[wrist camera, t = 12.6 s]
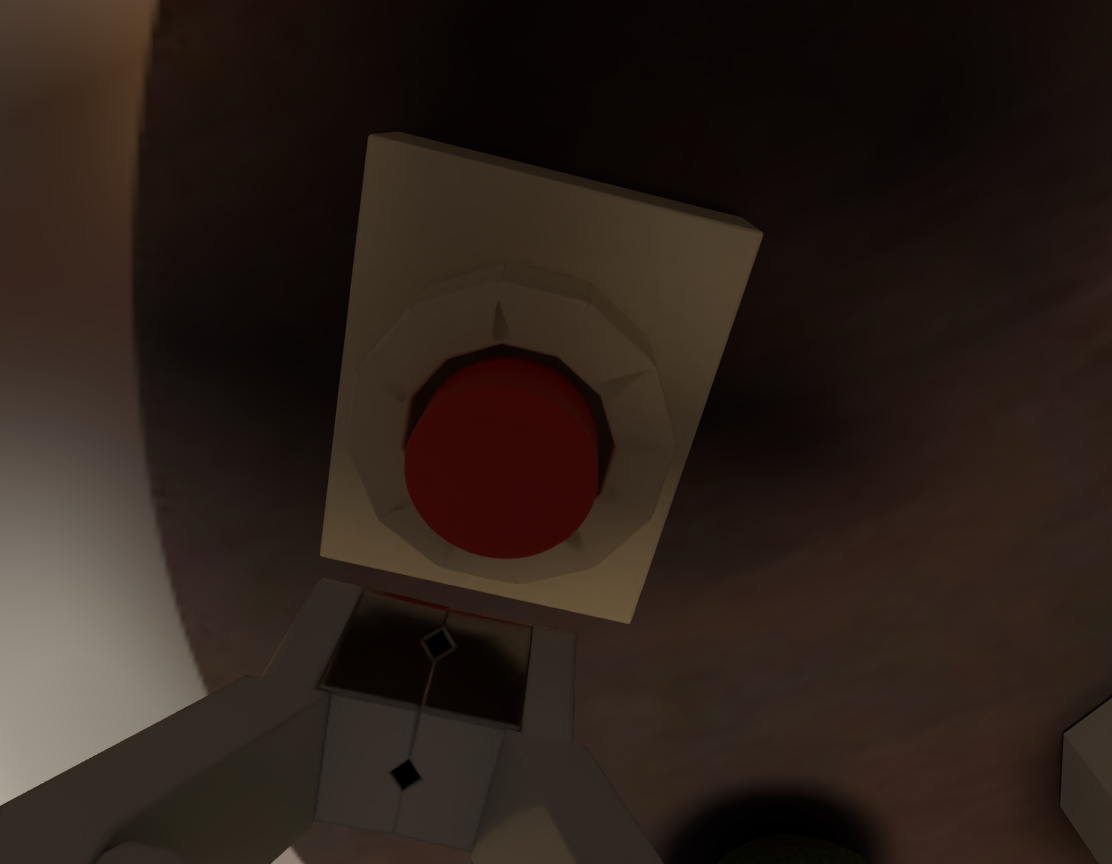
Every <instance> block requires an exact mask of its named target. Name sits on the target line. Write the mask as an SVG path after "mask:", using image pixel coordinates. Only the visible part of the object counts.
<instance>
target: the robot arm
mask: <svg viewBox="0 0 1112 864" xmlns="http://www.w3.org/2000/svg"><path fill="white" fill-rule="evenodd" d="M576 641H577V638H576V636H575V634H574V632H570V631H565V630H560V629H555V628H550V627H544V626H539V625H534V624H533V625H532V626H531V625H529V624H524V623H519V622H514V621H510V620H505V619H500V618H496V617H491V616H486V615H481V614H477V613H472V612H467V611H463V610H458V609H453V608H450V607H446V606H442V605H437V604H433V603H429V602H425V601H421V600H417V599H413V598H409V597H404V596H400V595H396V594H392V593H388V592H384V591H380V590H376V589H371V588H366V589H365V588H363V587H361V586H356V585H352V584H348V583H344V582H339V581H335V580H331V579H327V578H322V579H321V580H320V581H319V582H317V583H316V584H315V585H314V587H313V588H312V590H311V592H310V594H309V595H308V597H307V599H306V601H305V602H304V604H303V606H302V607H301V609H300V611H299V613H298V614H297V616H296V618H295V619H294V621H293V623H292V625H291V626H290V628H289V630H288V632H287V633H286V635H285V637H284V638H283V640H282V642H281V644H280V645H279V647H278V649H277V650H276V652H275V654H274V656H273V657H272V659H271V661H270V663H269V664H268V666H267V668H266V669H265V671H264V673H263V675H262V676H261V678H259V677H254V676H249V675H246V676H244V677H242V678H240V679H238V680H236V681H234V682H233V683H231V684H229V685H227V686H225V687H223V688H221V689H219V690H217V691H216V692H214V693H212V694H210V695H208V696H206V697H204V698H202V699H201V700H199V701H197V702H195V703H193V704H191V705H189V706H187V707H185V708H184V709H182V710H180V711H178V712H176V713H174V714H172V715H170V716H169V717H167V718H165V719H163V720H161V721H159V722H157V723H155V724H153V725H152V726H150V727H148V728H146V729H144V730H142V731H140V732H138V733H137V734H135V735H133V736H131V737H129V738H127V739H125V740H123V741H121V742H120V743H118V744H116V745H114V746H112V747H110V748H108V749H106V750H104V751H103V752H101V753H99V754H97V755H95V756H93V757H91V758H89V759H88V760H86V761H84V762H82V763H80V764H78V765H76V766H74V767H72V768H71V769H69V770H67V771H65V772H63V773H61V774H59V775H57V776H55V777H54V778H52V779H50V780H48V781H46V782H44V783H42V784H40V785H39V786H37V787H35V788H33V789H31V790H29V791H27V792H25V793H23V794H22V795H20V796H18V797H16V798H14V799H12V800H10V801H8V802H7V803H5V804H3V805H1V806H0V864H271V863H272V862H273V861H274V860H275V859H276V858H278V857H279V856H280V855H281V854H282V853H283V852H284V851H285V850H286V849H287V848H289V847H290V846H291V845H292V844H293V843H294V842H295V841H296V840H297V839H298V838H300V837H301V836H302V835H303V834H304V833H305V832H306V831H307V830H308V829H309V828H311V827H312V824H313V821H319V822H325V823H330V824H336V825H342V826H348V827H354V828H360V829H366V830H372V831H378V832H383V833H389V834H394V835H399V836H403V837H407V838H412V839H416V840H420V841H425V842H429V843H433V844H438V845H442V846H446V847H451V848H455V849H459V850H464V851H468V852H471V856H470V857H471V860H472V862H473V864H664V863H663V862H662V860H661V859H660V857H659V856H658V854H657V853H656V851H655V850H654V848H653V846H652V845H651V843H650V842H649V840H648V839H647V837H646V836H645V834H644V833H643V831H642V830H641V828H640V827H639V825H638V824H637V822H636V821H635V819H634V818H633V816H632V815H631V813H630V811H629V810H628V808H627V807H626V805H625V804H624V802H623V801H622V799H621V798H620V796H619V795H618V793H617V792H616V790H615V789H614V787H613V786H612V784H611V783H610V781H609V780H608V778H607V776H606V775H605V773H604V772H603V770H602V769H601V767H600V766H599V764H598V763H597V761H596V760H595V758H594V757H593V755H592V754H591V752H590V751H589V749H588V748H587V747H586V746H582V745H578V744H574V711H575V676H576Z"/></svg>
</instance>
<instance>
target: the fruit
mask: <svg viewBox="0 0 1112 864" xmlns="http://www.w3.org/2000/svg"><path fill="white" fill-rule="evenodd" d="M718 864H869V863H868V862H867V861H866V860H864V859H863V858H862V857H861V856H860V855H859V854H858V853H856V852H853V851H851V850H848V849H846V848H843V847H840V846H838V845H835V844H833V843H830V842H828V841H825V840H822V839H819V838H815V837H809V836H802V835H795V834H788V833H781V834H776V835H772V836H768V837H763V838H759V839H754V840H752V841H750V842H748V843H747V844H745V845H743V846H741V847H739V848H737V849H735V850H733V851H731V852H729V853H727V854H726V855H725V856H724V858H723V859H722V860H721V861H720V862H719V863H718Z"/></svg>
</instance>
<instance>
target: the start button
mask: <svg viewBox="0 0 1112 864" xmlns="http://www.w3.org/2000/svg"><path fill="white" fill-rule="evenodd" d="M404 475H405V481H406V486H407V490H408V493H409V495H410V498H411V501H412V503H413V505H414V506H415V508H416V510H417V512H418V513H419V515H420V516H421V518H422V519H423V520H424V521H425V523H426V524H427V525H428V526H429V527H430V528H431V529H432V530H433V531H434V532H435V533H436V534H438V535H439V536H440V537H441V538H443V539H444V540H446V541H447V542H449V543H450V544H452V545H454V546H456V547H458V548H459V549H462V550H464V551H467V552H469V553H472V554H476V555H479V556H483V557H489V558H496V559H516V558H523V557H529V556H533V555H536V554H540V553H542V552H545V551H547V550H549V549H552V548H553V547H555V546H557V545H559V544H560V543H562V542H563V541H564V540H566V539H567V538H568V537H570V536H571V535H572V534H573V533H574V532H575V531H576V530H577V529H578V528H579V527H580V525H581V524H582V523H583V521H584V520H585V519H586V517H587V515H588V514H589V512H590V510H591V508H592V505H593V503H594V500H595V497H596V493H597V488H598V433H597V426H596V422H595V418H594V415H593V412H592V410H591V407H590V405H589V404H588V402H587V400H586V398H585V397H584V395H583V394H582V393H581V391H580V390H579V389H578V388H577V387H576V386H575V385H574V384H573V383H572V382H571V381H570V380H569V379H568V378H567V377H565V376H564V375H563V374H562V373H560V372H559V371H557V370H555V369H554V368H552V367H550V366H548V365H545V364H543V363H541V362H538V361H535V360H532V359H528V358H522V357H516V356H498V357H490V358H485V359H481V360H478V361H475V362H472V363H470V364H468V365H466V366H464V367H462V368H460V369H458V370H457V371H456V372H454V373H453V374H451V375H450V376H449V377H448V378H447V379H446V380H445V381H444V382H443V383H442V384H441V385H440V386H439V387H438V389H437V390H436V391H435V393H434V395H433V396H432V398H431V400H430V401H429V403H428V405H427V407H426V409H425V410H424V412H423V414H422V416H421V417H420V419H419V421H418V423H417V424H416V426H415V428H414V430H413V431H412V434H411V436H410V438H409V441H408V444H407V448H406V452H405V459H404Z"/></svg>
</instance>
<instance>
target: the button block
mask: <svg viewBox="0 0 1112 864" xmlns="http://www.w3.org/2000/svg"><path fill="white" fill-rule="evenodd" d="M762 238H763V232H761V231H760V230H759V229H757V228H756V227H754V226H753V225H752V224H750V223H749V222H747V221H746V220H745V219H743V218H742V217H738V216H734V215H730V214H726V213H722V212H718V211H714V210H710V209H706V208H702V207H698V206H694V205H690V204H686V203H682V202H678V201H674V200H670V199H666V198H662V197H658V196H654V195H650V194H646V193H642V192H638V191H634V190H630V189H626V188H622V187H618V186H614V185H610V184H606V183H602V182H598V181H594V180H590V179H586V178H582V177H578V176H574V175H570V174H566V173H562V172H558V171H554V170H550V169H546V168H542V167H538V166H534V165H530V164H526V163H522V162H518V161H514V160H510V159H506V158H502V157H498V156H494V155H490V154H486V153H482V152H478V151H474V150H470V149H466V148H462V147H458V146H454V145H450V144H446V143H442V142H438V141H434V140H430V139H426V138H422V137H418V136H414V135H411V134H407V133H403V132H389V133H379V134H371V135H369V137H368V142H367V151H366V159H365V168H364V177H363V185H362V194H361V203H360V211H359V220H358V229H357V237H356V246H355V254H354V263H353V272H352V280H351V289H350V298H349V306H348V315H347V324H346V332H345V341H344V349H343V358H342V367H341V375H340V384H339V393H338V401H337V410H336V419H335V427H334V436H333V444H332V453H331V462H330V470H329V479H328V488H327V496H326V505H325V514H324V522H323V531H322V539H321V548H320V556H322V557H326V558H331V559H335V560H340V561H344V562H349V563H353V564H358V565H362V566H367V567H372V568H376V569H381V570H385V571H390V572H394V573H399V574H403V575H408V576H412V577H417V578H422V579H426V580H431V581H435V582H440V583H444V584H449V585H453V586H458V587H463V588H467V589H472V590H476V591H481V592H485V593H490V594H494V595H499V596H503V597H508V598H513V599H517V600H522V601H526V602H531V603H535V604H540V605H544V606H549V607H554V608H558V609H563V610H567V611H572V612H576V613H581V614H585V615H590V616H594V617H599V618H604V619H608V620H613V621H617V622H622V623H626V624H629V623H630V622H631V620H632V617H633V614H634V611H635V608H636V606H637V603H638V600H639V597H640V594H641V591H642V588H643V585H644V582H645V579H646V576H647V573H648V570H649V568H650V565H651V562H652V559H653V556H654V553H655V550H656V547H657V544H658V541H659V538H660V535H661V533H662V530H663V527H664V524H665V521H666V518H667V515H668V512H669V509H670V506H671V503H672V500H673V498H674V495H675V492H676V489H677V486H678V483H679V480H680V477H681V474H682V471H683V468H684V465H685V463H686V460H687V457H688V454H689V451H690V448H691V445H692V442H693V439H694V436H695V433H696V430H697V428H698V425H699V422H700V419H701V416H702V413H703V410H704V407H705V404H706V401H707V398H708V395H709V392H710V390H711V387H712V384H713V381H714V378H715V375H716V372H717V369H718V366H719V363H720V360H721V357H722V355H723V352H724V349H725V346H726V343H727V340H728V337H729V334H730V331H731V328H732V325H733V322H734V320H735V317H736V314H737V311H738V308H739V305H740V302H741V299H742V296H743V293H744V290H745V287H746V285H747V282H748V279H749V276H750V273H751V270H752V267H753V264H754V261H755V258H756V255H757V252H758V250H759V247H760V244H761V241H762ZM498 356H516V357H522V358H528V359H532V360H535V361H538V362H541V363H543V364H545V365H548V366H550V367H552V368H554V369H555V370H557V371H559V372H560V373H562V374H563V375H564V376H565V377H567V378H568V379H569V380H570V381H571V382H572V383H573V384H574V385H575V386H576V387H577V388H578V389H579V390H580V391H581V393H582V394H583V395H584V397H585V398H586V400H587V402H588V404H589V405H590V407H591V410H592V412H593V415H594V418H595V422H596V426H597V433H598V488H597V493H596V497H595V500H594V503H593V505H592V508H591V510H590V512H589V514H588V515H587V517H586V519H585V520H584V521H583V523H582V524H581V525H580V527H579V528H578V529H577V530H576V531H575V532H574V533H573V534H572V535H571V536H570V537H568V538H567V539H566V540H564V541H563V542H562V543H560V544H559V545H557V546H555V547H553V548H552V549H549V550H547V551H545V552H542V553H540V554H536V555H533V556H529V557H523V558H516V559H496V558H489V557H483V556H479V555H476V554H472V553H469V552H467V551H464V550H462V549H459V548H458V547H456V546H454V545H452V544H450V543H449V542H447V541H446V540H444V539H443V538H441V537H440V536H439V535H438V534H436V533H435V532H434V531H433V530H432V529H431V528H430V527H429V526H428V525H427V524H426V523H425V521H424V520H423V519H422V518H421V516H420V515H419V513H418V512H417V510H416V508H415V506H414V505H413V503H412V501H411V498H410V495H409V493H408V490H407V486H406V481H405V475H404V459H405V452H406V448H407V444H408V441H409V438H410V436H411V434H412V431H413V430H414V428H415V426H416V424H417V423H418V421H419V419H420V417H421V416H422V414H423V412H424V410H425V409H426V407H427V405H428V403H429V401H430V400H431V398H432V396H433V395H434V393H435V391H436V390H437V389H438V387H439V386H440V385H441V384H442V383H443V382H444V381H445V380H446V379H447V378H448V377H449V376H450V375H451V374H453V373H454V372H456V371H457V370H458V369H460V368H462V367H464V366H466V365H468V364H470V363H472V362H475V361H478V360H481V359H485V358H490V357H498Z"/></svg>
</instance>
